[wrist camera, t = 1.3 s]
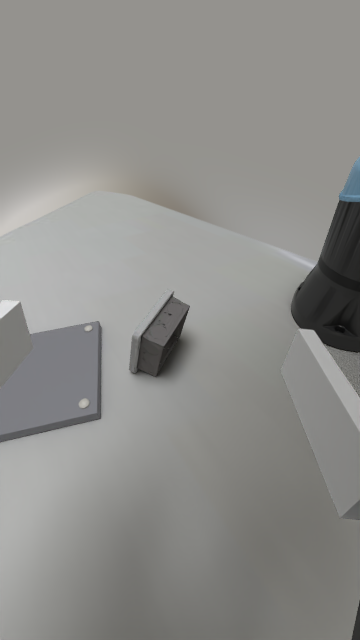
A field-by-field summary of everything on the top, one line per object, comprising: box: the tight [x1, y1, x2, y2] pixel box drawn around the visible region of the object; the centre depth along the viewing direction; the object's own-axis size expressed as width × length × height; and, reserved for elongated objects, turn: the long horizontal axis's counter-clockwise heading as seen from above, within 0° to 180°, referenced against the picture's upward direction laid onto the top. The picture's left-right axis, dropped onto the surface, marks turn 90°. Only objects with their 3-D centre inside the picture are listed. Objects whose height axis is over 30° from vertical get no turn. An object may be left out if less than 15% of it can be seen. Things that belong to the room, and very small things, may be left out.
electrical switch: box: [129, 289, 190, 377], centre depth 35 cm, size 9×5×9 cm, turn 155°
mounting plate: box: [0, 321, 101, 442], centre depth 36 cm, size 17×16×2 cm
